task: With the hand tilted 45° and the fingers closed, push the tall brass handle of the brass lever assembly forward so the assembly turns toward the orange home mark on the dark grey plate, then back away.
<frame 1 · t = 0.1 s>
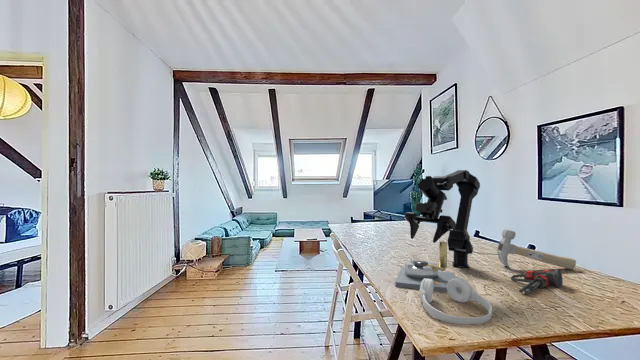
hand: (422, 240, 121), 15 cm above the table, tool tilted 35°, fingers open, 9 cm apart
brass lever assembly: (425, 257, 121), point 8 cm above the table, hinge at 0.0°
headphones: (453, 310, 94), on the table
housing plate: (420, 278, 122), on the table
valve: (530, 286, 116), on the table
hammer: (535, 268, 139), on the table
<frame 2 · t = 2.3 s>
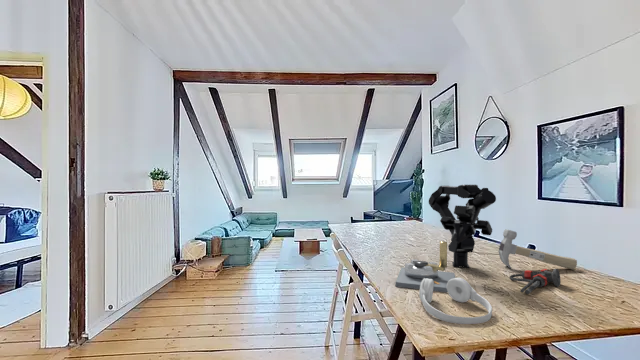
hand: (457, 242, 124), 14 cm above the table, tool tilted 45°, fingers closed
brass lever assembly: (425, 257, 121), point 8 cm above the table, hinge at 1.5°
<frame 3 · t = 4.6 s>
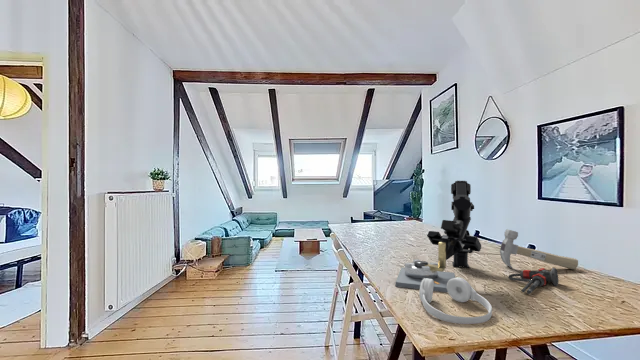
hand: (445, 259, 117), 9 cm above the table, tool tilted 45°, fingers closed, pressing on brass lever assembly
brass lever assembly: (425, 257, 121), point 8 cm above the table, hinge at -8.0°, touching gripper
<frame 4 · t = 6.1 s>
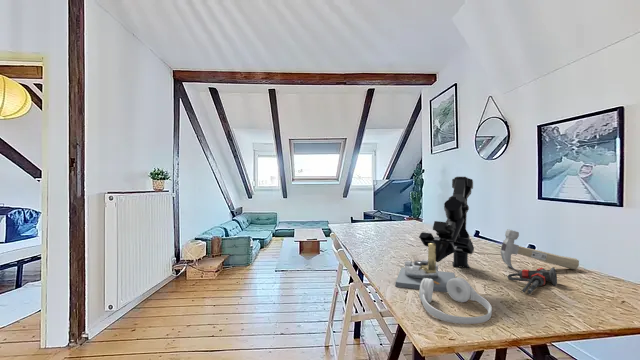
hand: (436, 261, 114), 9 cm above the table, tool tilted 45°, fingers closed
brass lever assembly: (423, 258, 121), point 8 cm above the table, hinge at -45.0°, touching gripper
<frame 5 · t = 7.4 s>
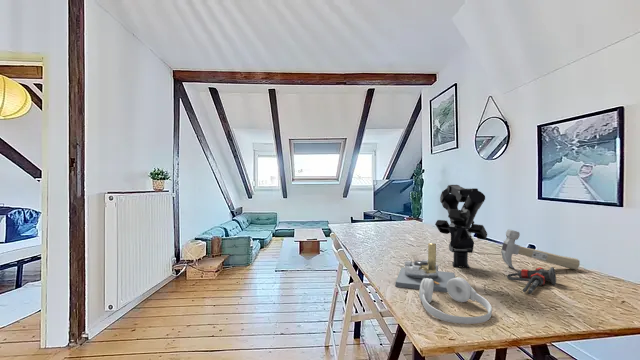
hand: (451, 246, 122), 12 cm above the table, tool tilted 45°, fingers closed
brass lever assembly: (423, 258, 121), point 8 cm above the table, hinge at -45.1°
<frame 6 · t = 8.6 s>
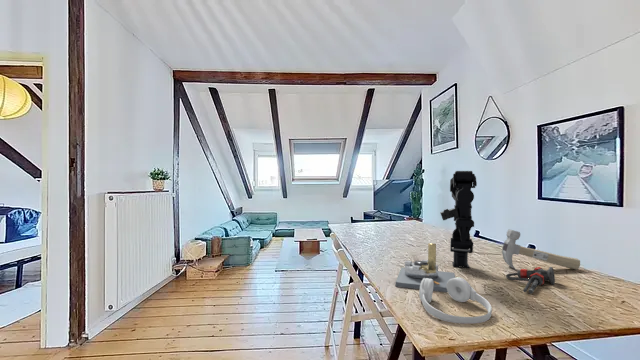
hand: (463, 241, 128), 13 cm above the table, tool pointing down, fingers closed
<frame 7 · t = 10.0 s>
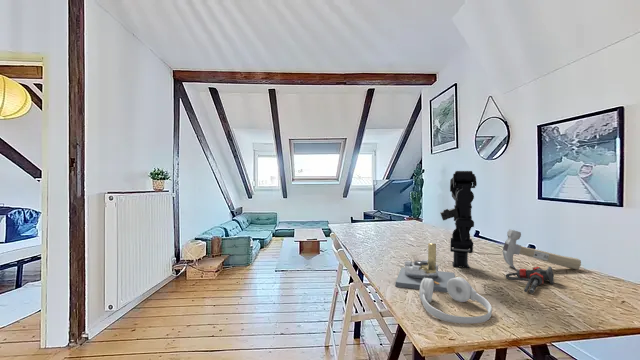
hand: (462, 241, 128), 13 cm above the table, tool pointing down, fingers closed
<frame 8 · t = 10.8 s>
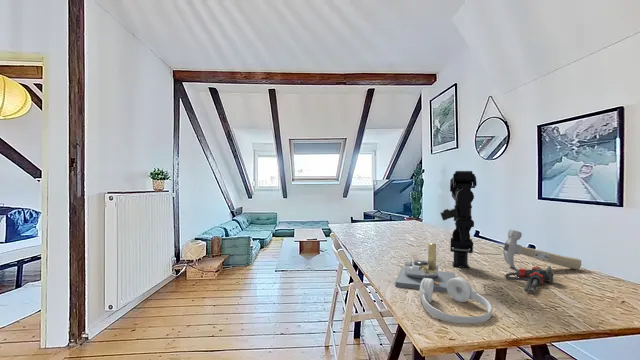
hand: (462, 241, 128), 13 cm above the table, tool pointing down, fingers closed
at the end: brass lever assembly at -45° (first picture: +0°); headphones moved 0.7 cm from its start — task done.
